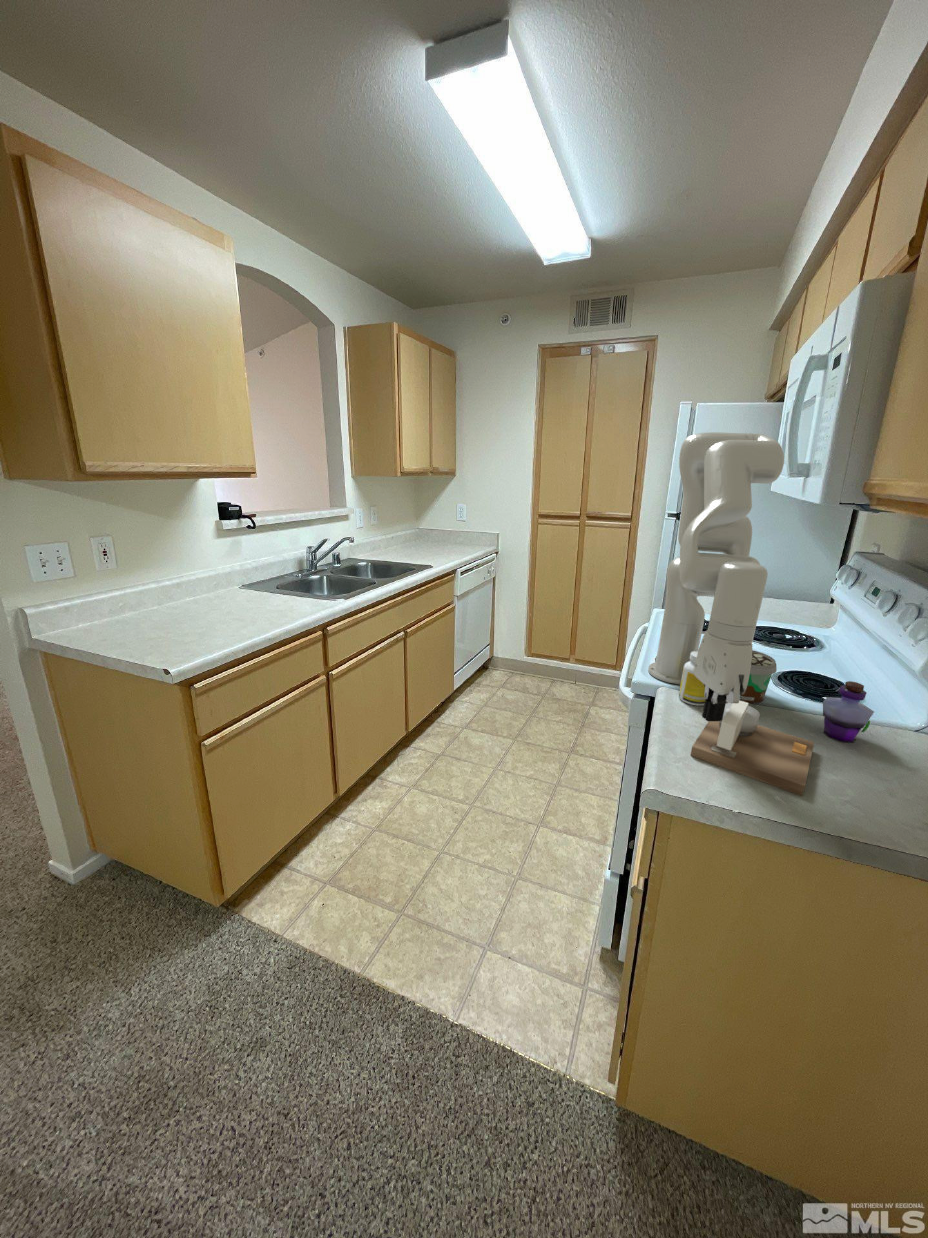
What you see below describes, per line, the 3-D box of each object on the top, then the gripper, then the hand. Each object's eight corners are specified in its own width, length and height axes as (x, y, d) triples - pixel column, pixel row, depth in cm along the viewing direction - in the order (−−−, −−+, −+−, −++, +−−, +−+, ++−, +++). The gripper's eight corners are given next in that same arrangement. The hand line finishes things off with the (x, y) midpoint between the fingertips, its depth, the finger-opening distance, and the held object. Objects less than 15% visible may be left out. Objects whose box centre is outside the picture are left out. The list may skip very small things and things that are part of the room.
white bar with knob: (721, 711, 104) (726, 690, 102) (759, 722, 100) (764, 700, 98) (703, 741, 92) (708, 717, 90) (744, 755, 88) (750, 731, 86)
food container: (769, 711, 111) (779, 671, 108) (738, 704, 114) (748, 665, 111) (768, 691, 122) (777, 654, 119) (740, 685, 125) (748, 648, 121)
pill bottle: (711, 708, 112) (721, 661, 108) (681, 705, 113) (690, 658, 109) (703, 695, 118) (712, 651, 114) (675, 692, 119) (683, 648, 115)
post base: (713, 720, 107) (715, 707, 106) (811, 751, 96) (815, 737, 95) (690, 755, 93) (693, 741, 92) (802, 796, 83) (806, 781, 82)
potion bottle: (870, 751, 97) (888, 697, 93) (818, 740, 100) (833, 687, 96) (859, 731, 104) (875, 680, 100) (811, 721, 107) (825, 671, 104)
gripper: (689, 617, 96) (673, 701, 101) (737, 644, 82) (716, 740, 87) (725, 617, 97) (707, 701, 102) (778, 644, 82) (755, 739, 88)
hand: (711, 719), depth 95 cm, fingers closed
